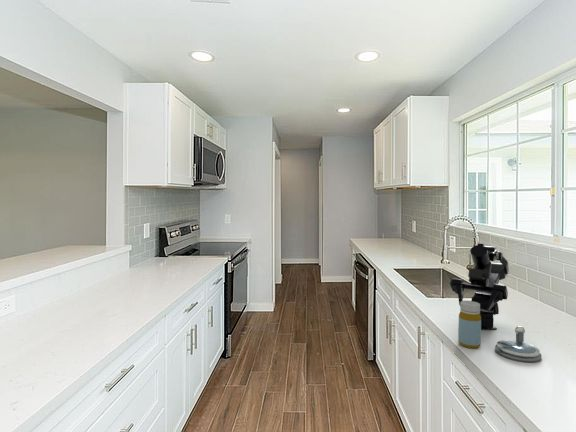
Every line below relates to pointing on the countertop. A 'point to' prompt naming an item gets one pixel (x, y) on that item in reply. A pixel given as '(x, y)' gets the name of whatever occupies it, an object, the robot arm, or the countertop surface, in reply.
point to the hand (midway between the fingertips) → (473, 307)
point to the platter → (518, 348)
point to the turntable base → (520, 337)
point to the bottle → (469, 324)
